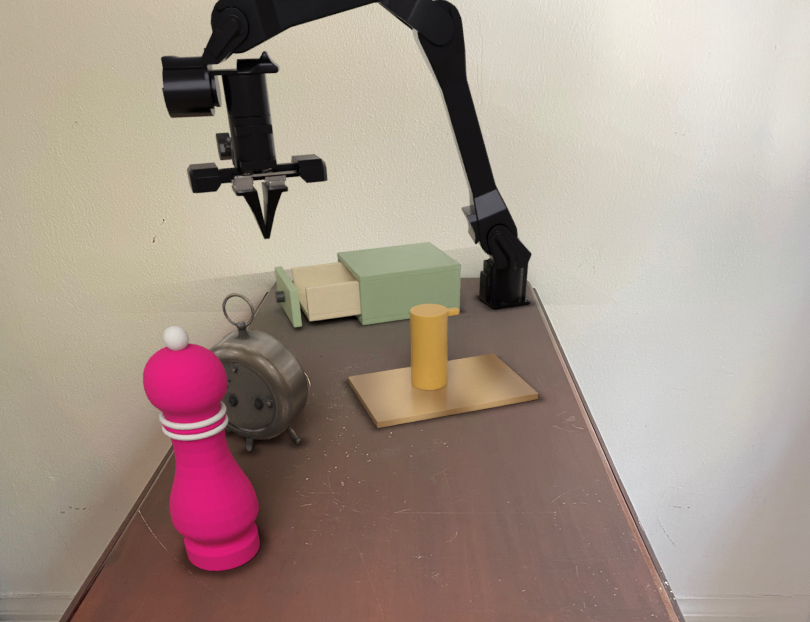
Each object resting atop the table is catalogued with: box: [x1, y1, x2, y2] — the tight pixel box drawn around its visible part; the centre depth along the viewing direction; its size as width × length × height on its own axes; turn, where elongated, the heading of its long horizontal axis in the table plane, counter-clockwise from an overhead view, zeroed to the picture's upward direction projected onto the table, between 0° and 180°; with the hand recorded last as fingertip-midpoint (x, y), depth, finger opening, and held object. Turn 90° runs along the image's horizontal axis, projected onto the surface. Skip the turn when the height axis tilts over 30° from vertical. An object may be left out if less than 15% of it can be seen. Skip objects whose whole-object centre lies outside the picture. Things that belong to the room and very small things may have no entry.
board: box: [347, 353, 539, 429], centre depth 85 cm, size 20×13×1 cm, turn 108°
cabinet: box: [336, 241, 462, 326], centre depth 109 cm, size 16×14×7 cm
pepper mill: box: [142, 325, 261, 572], centre depth 55 cm, size 7×7×20 cm
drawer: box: [274, 261, 361, 328], centre depth 106 cm, size 16×12×5 cm
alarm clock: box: [209, 292, 309, 452], centre depth 71 cm, size 11×5×16 cm, turn 71°
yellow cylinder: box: [409, 304, 460, 390], centre depth 83 cm, size 6×4×9 cm
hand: (266, 238), depth 103 cm, fingers closed
